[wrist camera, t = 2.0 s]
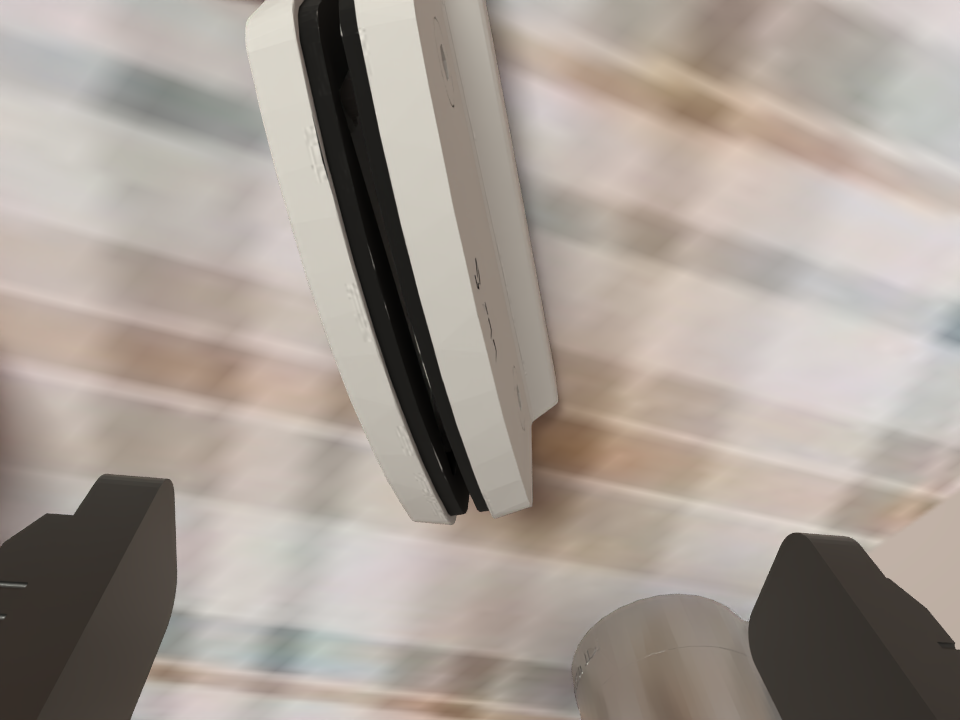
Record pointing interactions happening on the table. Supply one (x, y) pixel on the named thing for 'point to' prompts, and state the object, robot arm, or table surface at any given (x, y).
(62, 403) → the table surface
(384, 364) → the white curved piece
